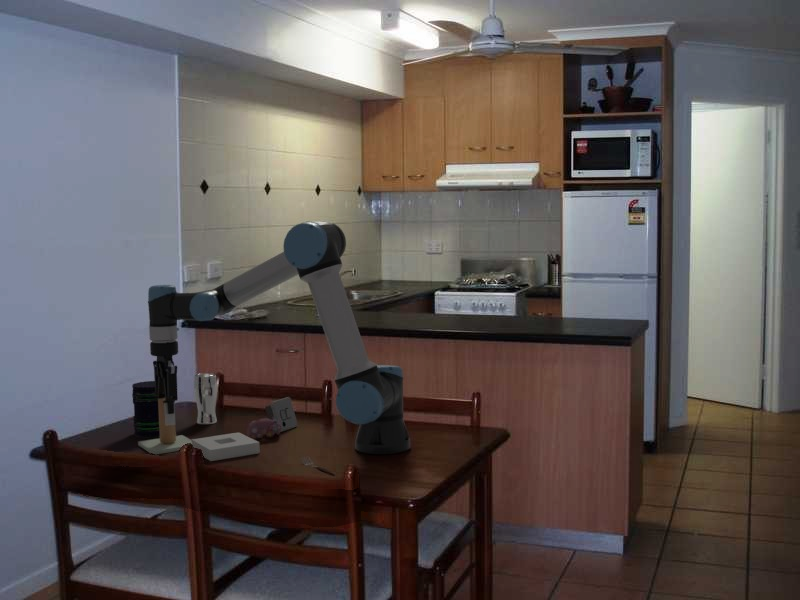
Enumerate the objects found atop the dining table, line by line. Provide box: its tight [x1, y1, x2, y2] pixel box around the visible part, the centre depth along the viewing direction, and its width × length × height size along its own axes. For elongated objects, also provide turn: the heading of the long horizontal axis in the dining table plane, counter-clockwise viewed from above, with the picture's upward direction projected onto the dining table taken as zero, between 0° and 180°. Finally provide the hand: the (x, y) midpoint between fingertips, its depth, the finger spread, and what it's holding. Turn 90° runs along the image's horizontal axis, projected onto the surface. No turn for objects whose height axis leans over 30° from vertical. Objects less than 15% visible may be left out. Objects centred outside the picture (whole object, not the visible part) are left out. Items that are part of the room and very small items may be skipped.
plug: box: [158, 397, 177, 443], centre depth 262 cm, size 4×4×12 cm
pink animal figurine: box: [246, 418, 281, 439], centre depth 272 cm, size 10×5×7 cm, turn 107°
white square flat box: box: [191, 432, 261, 462], centre depth 256 cm, size 14×14×3 cm
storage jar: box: [131, 380, 160, 439], centre depth 278 cm, size 10×10×15 cm
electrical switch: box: [264, 396, 298, 433], centre depth 282 cm, size 9×5×9 cm, turn 152°
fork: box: [300, 455, 336, 477], centre depth 238 cm, size 3×16×2 cm, turn 34°
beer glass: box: [193, 372, 218, 425], centre depth 291 cm, size 7×7×15 cm
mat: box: [137, 434, 192, 455], centre depth 263 cm, size 13×13×1 cm
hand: (167, 423), depth 262 cm, fingers closed on plug, 4 cm apart
